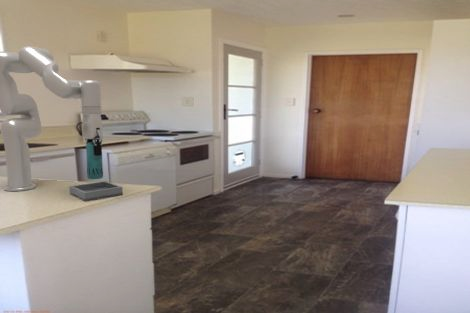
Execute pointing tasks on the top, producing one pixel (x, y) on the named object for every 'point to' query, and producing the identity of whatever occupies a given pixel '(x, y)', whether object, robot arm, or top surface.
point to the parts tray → (95, 191)
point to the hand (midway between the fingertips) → (94, 153)
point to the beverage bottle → (93, 162)
